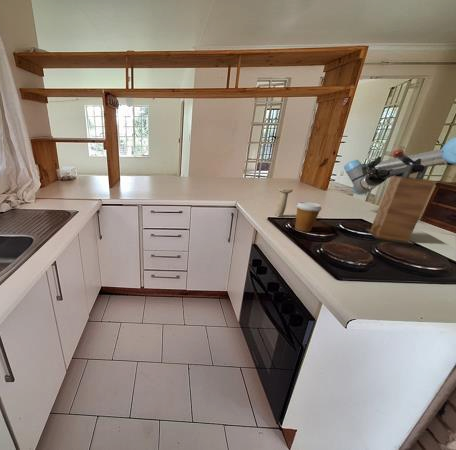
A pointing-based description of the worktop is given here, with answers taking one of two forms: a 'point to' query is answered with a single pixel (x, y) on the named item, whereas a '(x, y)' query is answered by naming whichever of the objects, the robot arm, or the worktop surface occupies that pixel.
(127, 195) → the worktop surface
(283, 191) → the mushroom
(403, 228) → the lever post
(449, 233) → the worktop surface
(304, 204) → the disposable coffee cup
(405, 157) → the lever
